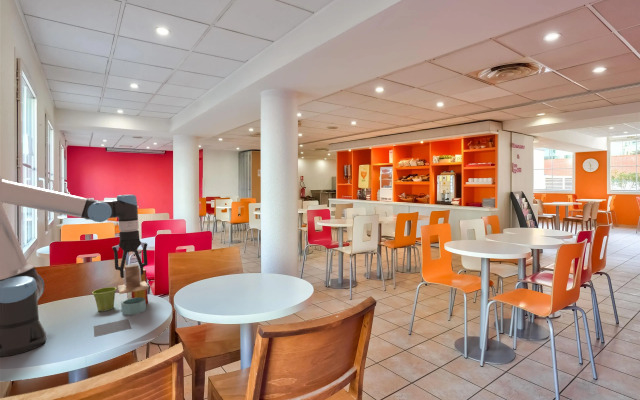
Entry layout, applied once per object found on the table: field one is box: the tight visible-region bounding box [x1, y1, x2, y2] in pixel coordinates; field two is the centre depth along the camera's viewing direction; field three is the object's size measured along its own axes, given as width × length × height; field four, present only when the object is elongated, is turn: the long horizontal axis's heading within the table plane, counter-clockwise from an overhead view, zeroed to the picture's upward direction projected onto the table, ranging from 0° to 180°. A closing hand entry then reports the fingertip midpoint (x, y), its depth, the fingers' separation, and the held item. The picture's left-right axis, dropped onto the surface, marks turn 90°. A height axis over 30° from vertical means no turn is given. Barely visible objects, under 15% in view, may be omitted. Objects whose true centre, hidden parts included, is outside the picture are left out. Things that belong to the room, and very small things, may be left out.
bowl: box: [120, 297, 147, 316], centre depth 154 cm, size 9×9×5 cm
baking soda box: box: [126, 268, 149, 304], centre depth 167 cm, size 10×6×16 cm
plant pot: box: [91, 286, 118, 312], centre depth 159 cm, size 9×9×9 cm
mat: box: [93, 318, 132, 338], centre depth 137 cm, size 12×12×1 cm
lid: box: [116, 263, 150, 295], centre depth 154 cm, size 11×11×10 cm
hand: (132, 283), depth 154 cm, fingers closed on lid, 5 cm apart
